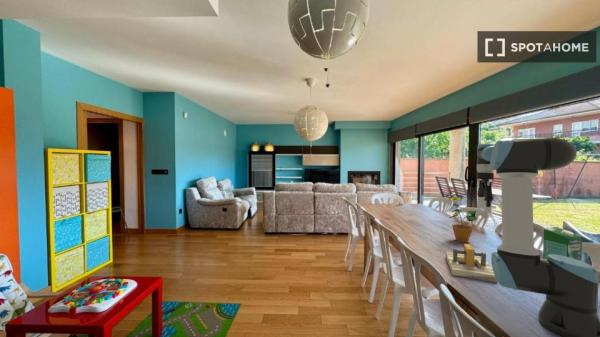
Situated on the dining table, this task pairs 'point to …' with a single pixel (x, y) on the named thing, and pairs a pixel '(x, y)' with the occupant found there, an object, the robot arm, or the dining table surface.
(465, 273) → the beige open frame
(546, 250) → the milk carton
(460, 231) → the potted plant
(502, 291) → the dining table surface
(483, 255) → the gray u-shaped bracket
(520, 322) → the dining table surface
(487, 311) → the dining table surface
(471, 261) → the orange u-shaped bracket
